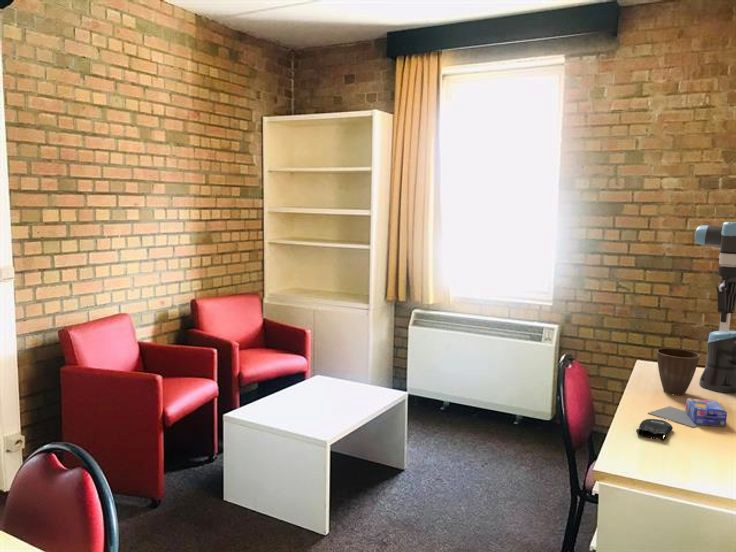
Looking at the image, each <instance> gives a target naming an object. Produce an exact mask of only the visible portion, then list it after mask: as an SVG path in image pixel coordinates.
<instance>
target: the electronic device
mask: <svg viewBox="0 0 736 552" xmlns="http://www.w3.org/2000/svg"><path fill="white" fill-rule="evenodd" d="M673 428H674V427H673V425H672V424H671V423H669V422H668V421H667V420H664V419H663V420H662V419H656V418H645V419H643V420H642V421H641V422H640V424H639V426H638V428H636V430H635V432H636V435H637V436H638V437H643V438H647V439H651V437H652V440H657V439H656V437H655V438H653V436H654V435H657V434H659V435H663V434H665V437H664V439H662V438H661V439H662V440H663V441H664V440H666V439H667V436H668V435H669V433H672V431H673ZM643 431H647V432H650V433H652V435H651V436H650V435H645V436H644V435H643V433H644V432H643ZM662 440H661V441H662Z"/></svg>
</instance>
